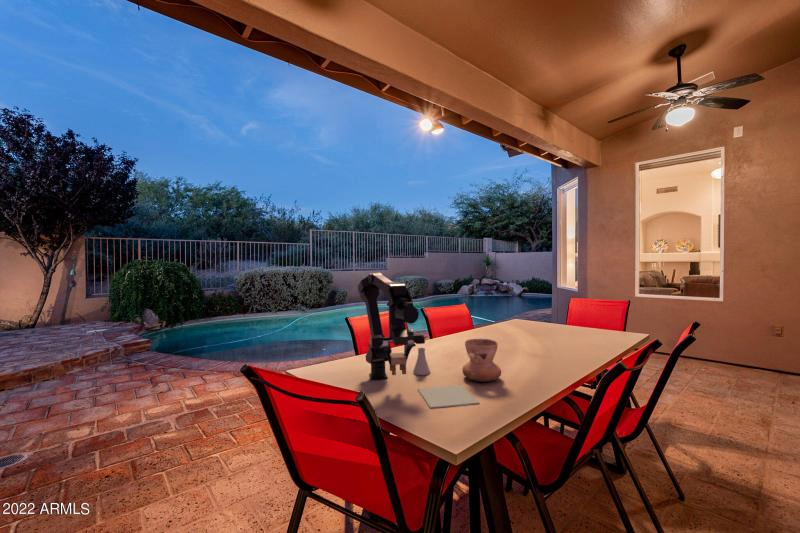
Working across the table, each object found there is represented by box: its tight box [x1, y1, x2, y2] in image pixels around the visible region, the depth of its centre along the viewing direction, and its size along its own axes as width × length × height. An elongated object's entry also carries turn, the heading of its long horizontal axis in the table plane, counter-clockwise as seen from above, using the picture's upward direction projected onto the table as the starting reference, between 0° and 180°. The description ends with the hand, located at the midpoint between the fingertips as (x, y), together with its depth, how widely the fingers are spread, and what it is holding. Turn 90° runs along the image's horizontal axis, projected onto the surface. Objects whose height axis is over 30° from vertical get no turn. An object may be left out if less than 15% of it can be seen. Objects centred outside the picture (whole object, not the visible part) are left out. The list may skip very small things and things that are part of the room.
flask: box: [412, 347, 431, 376], centre depth 137 cm, size 7×7×10 cm
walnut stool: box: [389, 351, 407, 376], centre depth 118 cm, size 6×5×6 cm
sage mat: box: [417, 384, 480, 409], centre depth 112 cm, size 16×16×1 cm
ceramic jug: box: [461, 338, 502, 383], centre depth 130 cm, size 18×14×14 cm
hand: (397, 364), depth 118 cm, fingers closed on walnut stool, 5 cm apart
